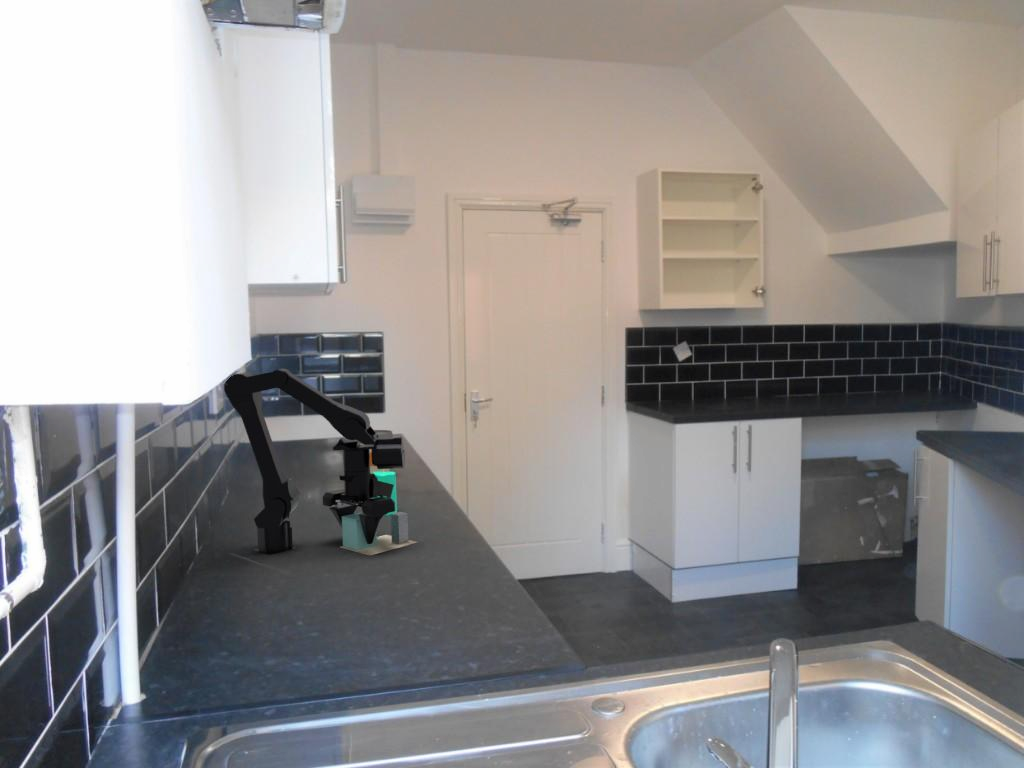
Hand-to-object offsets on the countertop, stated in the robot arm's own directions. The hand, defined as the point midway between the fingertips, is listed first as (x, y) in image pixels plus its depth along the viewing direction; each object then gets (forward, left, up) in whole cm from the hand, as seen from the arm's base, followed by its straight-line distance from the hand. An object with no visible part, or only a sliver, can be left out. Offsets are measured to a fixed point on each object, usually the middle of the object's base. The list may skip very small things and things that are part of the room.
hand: (359, 541), depth 175 cm
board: (+3, -2, -2) cm, 4 cm away
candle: (+25, +23, -2) cm, 34 cm away
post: (+7, -5, -2) cm, 9 cm away
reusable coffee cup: (+54, +65, -2) cm, 85 cm away
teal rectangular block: (0, 0, -1) cm, 1 cm away
